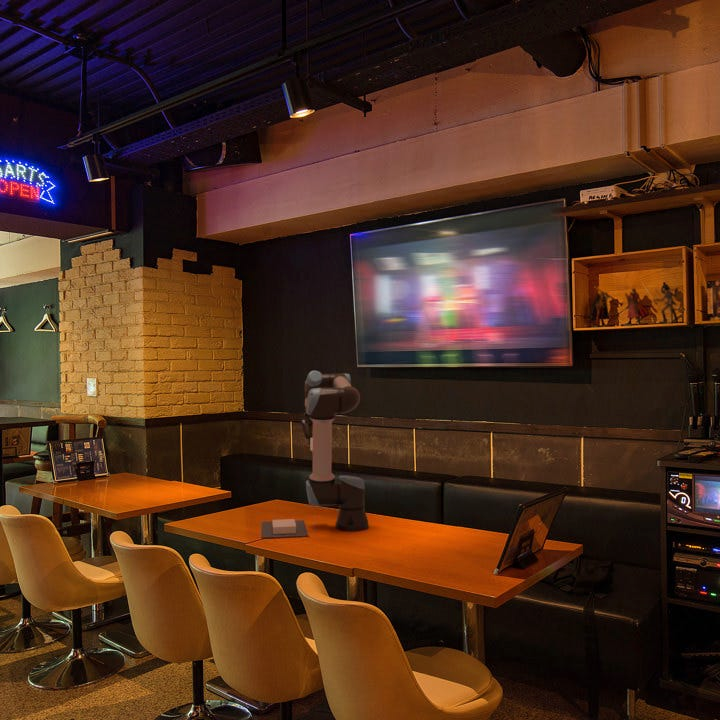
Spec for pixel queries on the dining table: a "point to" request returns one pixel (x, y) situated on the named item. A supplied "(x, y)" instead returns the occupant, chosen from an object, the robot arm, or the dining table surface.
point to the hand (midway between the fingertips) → (312, 450)
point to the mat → (268, 534)
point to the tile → (284, 526)
